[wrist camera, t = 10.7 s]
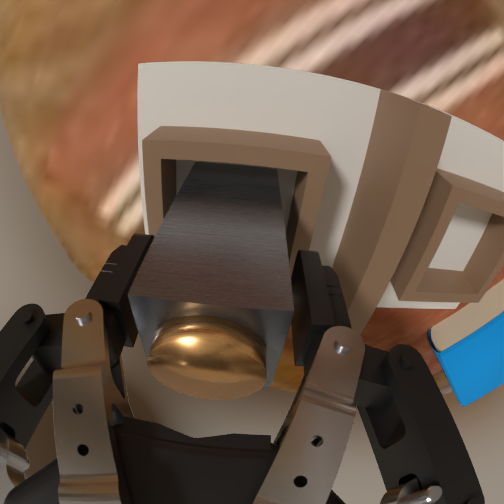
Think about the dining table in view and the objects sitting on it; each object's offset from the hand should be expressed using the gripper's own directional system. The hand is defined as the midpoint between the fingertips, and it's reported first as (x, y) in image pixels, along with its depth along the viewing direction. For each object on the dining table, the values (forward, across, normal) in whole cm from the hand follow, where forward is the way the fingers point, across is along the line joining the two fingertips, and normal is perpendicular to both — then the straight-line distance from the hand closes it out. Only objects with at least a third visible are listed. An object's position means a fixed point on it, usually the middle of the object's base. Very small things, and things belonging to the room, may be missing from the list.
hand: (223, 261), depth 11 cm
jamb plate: (+6, -7, 0) cm, 10 cm away
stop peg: (+5, 0, 0) cm, 5 cm away
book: (+7, -34, +14) cm, 37 cm away
